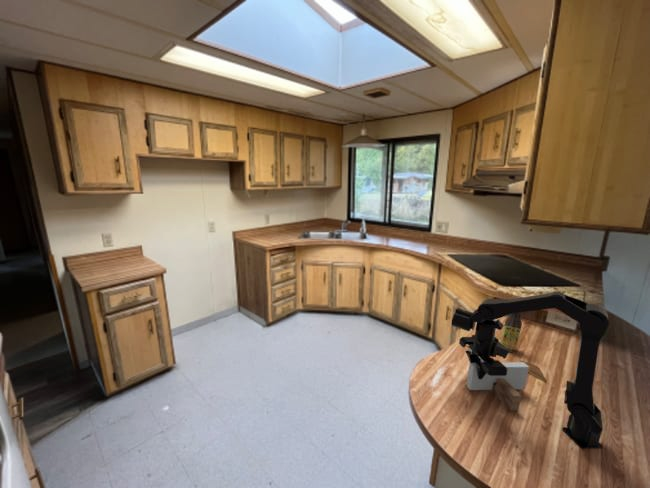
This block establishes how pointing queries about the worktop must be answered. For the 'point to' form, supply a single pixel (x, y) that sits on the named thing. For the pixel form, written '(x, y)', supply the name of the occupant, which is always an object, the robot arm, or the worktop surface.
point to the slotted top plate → (498, 377)
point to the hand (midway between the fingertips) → (477, 376)
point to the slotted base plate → (507, 394)
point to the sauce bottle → (511, 331)
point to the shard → (534, 370)
